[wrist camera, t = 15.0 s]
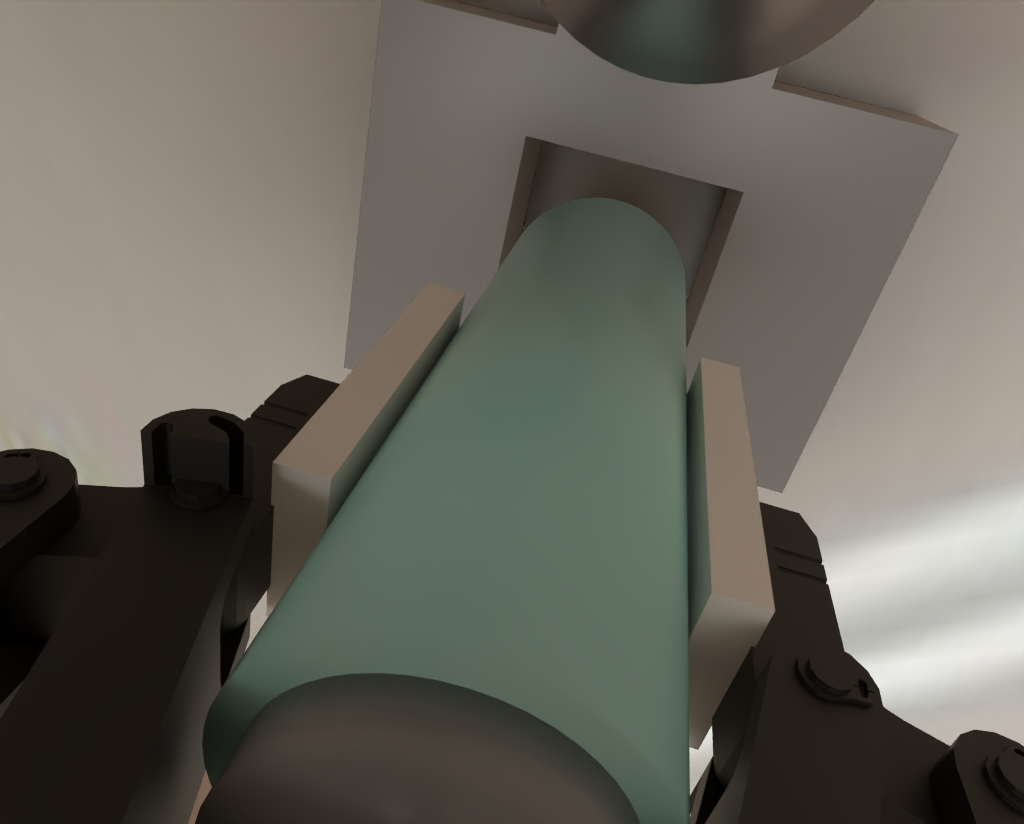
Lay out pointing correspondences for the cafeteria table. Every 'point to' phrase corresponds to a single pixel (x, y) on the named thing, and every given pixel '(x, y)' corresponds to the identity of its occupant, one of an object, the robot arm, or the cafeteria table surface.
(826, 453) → the cafeteria table surface
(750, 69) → the clip
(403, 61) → the socket block
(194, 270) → the cafeteria table surface
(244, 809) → the plug
